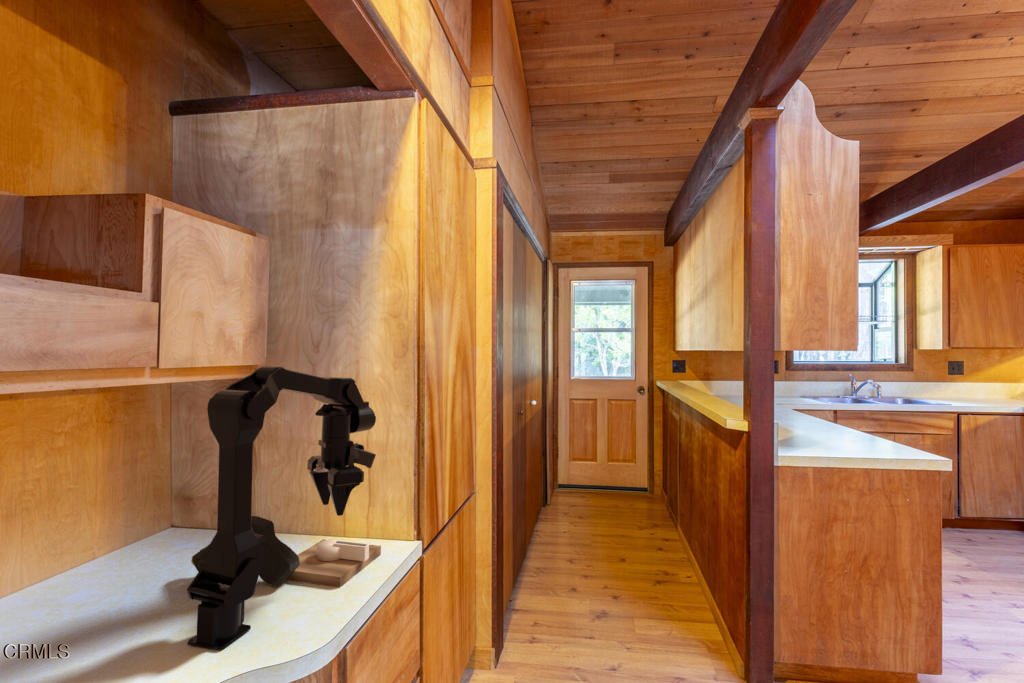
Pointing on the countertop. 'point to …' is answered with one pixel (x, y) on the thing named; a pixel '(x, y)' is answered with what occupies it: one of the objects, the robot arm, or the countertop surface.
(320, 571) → the panel
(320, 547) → the cream elongated piece
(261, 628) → the countertop surface
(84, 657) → the countertop surface
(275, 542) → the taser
